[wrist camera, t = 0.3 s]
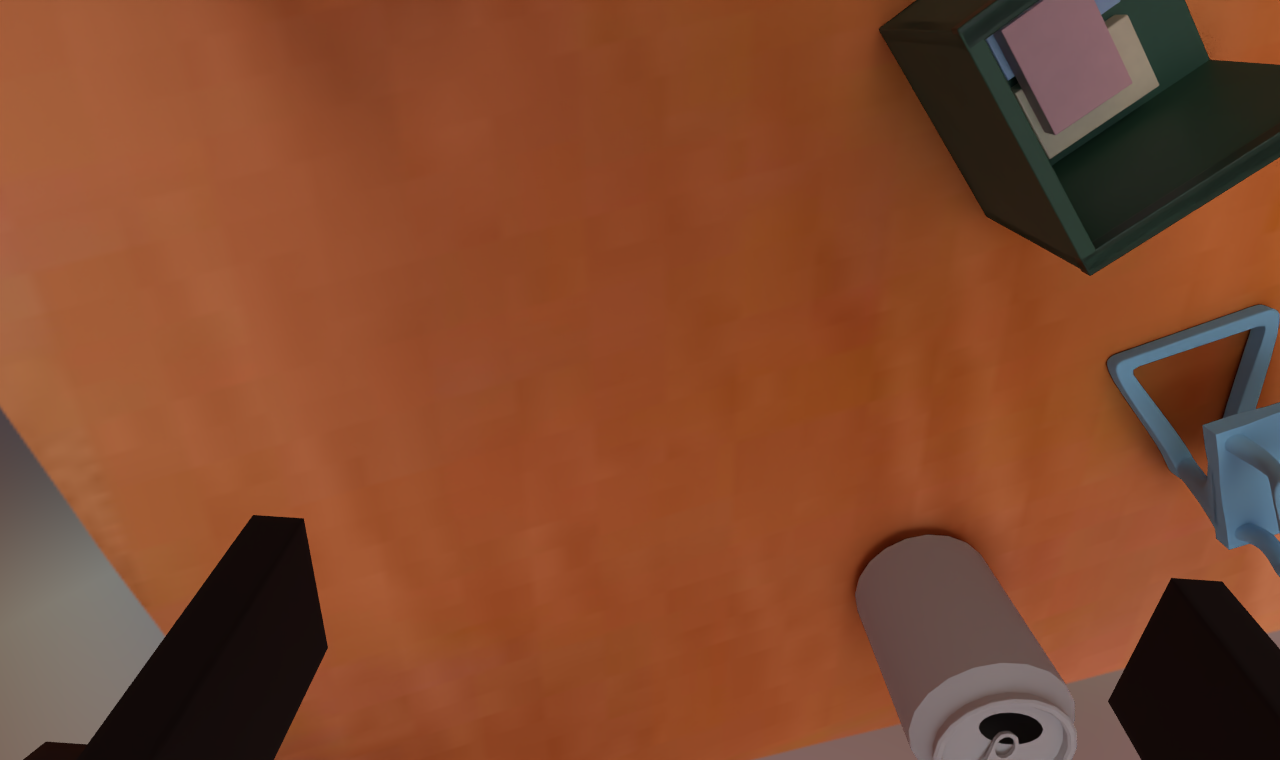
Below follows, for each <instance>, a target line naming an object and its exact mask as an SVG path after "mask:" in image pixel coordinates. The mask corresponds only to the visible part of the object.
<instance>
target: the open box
mask: <svg viewBox="0 0 1280 760" xmlns="http://www.w3.org/2000/svg"><path fill="white" fill-rule="evenodd" d="M1038 1H1039V0H916V1H915V2H913V3H912V4H911V5H909V6H908V7H907V8H906V9H904V10H903V11H902V12H900V13H899V14H898V15H896V16H895V17H894V18H892V19H891V20H890V21H888V22H887V23H886V24H884V25H883V26H882V27H880V28H879V31H880V33H881V34H882V36H883V38H884V40H885V41H886V43H887V45H888V47H889V48H890V50H891V52H892V53H893V55H894V57H895V59H896V60H897V62H898V64H899V66H900V67H901V69H902V71H903V73H904V74H905V76H906V78H907V79H908V81H909V83H910V85H911V86H912V88H913V90H914V92H915V93H916V95H917V97H918V99H919V100H920V102H921V104H922V105H923V107H924V109H925V111H926V112H927V114H928V116H929V118H930V119H931V121H932V123H933V125H934V126H935V128H936V130H937V131H938V133H939V135H940V137H941V138H942V140H943V142H944V144H945V145H946V147H947V149H948V151H949V152H950V154H951V156H952V157H953V159H954V161H955V163H956V164H957V166H958V168H959V170H960V171H961V173H962V175H963V177H964V178H965V180H966V182H967V183H968V185H969V187H970V189H971V190H972V192H973V194H974V196H975V197H976V199H977V201H978V203H979V204H980V206H981V208H982V209H983V211H984V213H985V215H986V216H987V217H988V218H990V219H992V220H994V221H996V222H997V223H999V224H1001V225H1003V226H1005V227H1006V228H1008V229H1010V230H1012V231H1013V232H1015V233H1017V234H1019V235H1021V236H1022V237H1024V238H1026V239H1028V240H1030V241H1031V242H1033V243H1035V244H1037V245H1039V246H1040V247H1042V248H1044V249H1046V250H1048V251H1049V252H1051V253H1053V254H1055V255H1057V256H1058V257H1060V258H1062V259H1064V260H1066V261H1067V262H1069V263H1071V264H1073V265H1075V266H1076V267H1078V268H1080V269H1081V271H1082V272H1084V273H1086V274H1088V275H1089V276H1091V275H1093V274H1094V273H1096V272H1097V271H1099V270H1101V269H1102V268H1104V267H1105V266H1107V265H1108V264H1110V263H1112V262H1113V261H1115V260H1116V259H1118V258H1120V257H1121V256H1123V255H1124V254H1126V253H1128V252H1129V251H1131V250H1132V249H1134V248H1136V247H1137V246H1139V245H1140V244H1142V243H1144V242H1145V241H1147V240H1148V239H1150V238H1152V237H1153V236H1155V235H1156V234H1158V233H1160V232H1161V231H1163V230H1164V229H1166V228H1168V227H1169V226H1171V225H1172V224H1174V223H1175V222H1177V221H1179V220H1180V219H1182V218H1183V217H1185V216H1187V215H1188V214H1190V213H1191V212H1193V211H1195V210H1196V209H1198V208H1199V207H1201V206H1203V205H1204V204H1206V203H1207V202H1209V201H1211V200H1212V199H1214V198H1215V197H1217V196H1219V195H1220V194H1222V193H1223V192H1225V191H1227V190H1228V189H1230V188H1231V187H1233V186H1235V185H1236V184H1238V183H1239V182H1241V181H1242V180H1244V179H1246V178H1247V177H1249V176H1250V175H1252V174H1254V173H1255V172H1257V171H1258V170H1260V169H1262V168H1263V167H1265V166H1266V165H1268V164H1270V163H1271V162H1273V161H1274V160H1276V159H1278V158H1279V157H1280V65H1274V64H1260V63H1247V62H1233V61H1219V60H1210V59H1209V57H1208V54H1207V52H1206V50H1205V47H1204V45H1203V42H1202V40H1201V38H1200V35H1199V33H1198V31H1197V28H1196V26H1195V23H1194V21H1193V19H1192V16H1191V14H1190V12H1189V9H1188V7H1187V4H1186V2H1185V0H1121V1H1120V2H1119V3H1117V4H1116V5H1114V6H1113V7H1112V8H1110V9H1109V10H1107V11H1106V12H1105V13H1103V14H1102V15H1101V16H1102V18H1103V20H1104V22H1105V21H1106V20H1108V19H1109V18H1111V17H1112V16H1113V15H1128V17H1129V19H1130V21H1131V23H1132V25H1133V28H1134V30H1135V32H1136V34H1137V36H1138V39H1139V41H1140V43H1141V45H1142V48H1143V50H1144V52H1145V54H1146V56H1147V59H1148V61H1149V63H1150V65H1151V67H1152V70H1153V72H1154V74H1155V76H1156V78H1157V81H1158V83H1159V86H1158V87H1157V88H1155V89H1154V90H1152V91H1151V92H1149V93H1148V94H1146V95H1145V96H1143V97H1142V98H1140V99H1139V100H1137V101H1136V102H1134V103H1133V104H1131V105H1130V106H1128V107H1127V108H1125V109H1124V110H1122V111H1121V112H1120V113H1118V114H1117V115H1115V116H1114V117H1112V118H1111V119H1109V120H1108V121H1106V122H1105V123H1103V124H1102V125H1100V126H1099V127H1097V128H1096V129H1094V130H1093V131H1091V132H1090V133H1088V134H1087V135H1085V136H1084V137H1082V138H1081V139H1079V140H1078V141H1076V142H1075V143H1073V144H1072V145H1071V146H1069V147H1068V148H1066V149H1065V150H1063V151H1062V152H1060V153H1059V154H1057V155H1056V156H1054V157H1053V158H1051V159H1048V158H1047V156H1046V154H1045V152H1044V150H1043V149H1042V147H1041V145H1040V143H1039V141H1038V139H1037V137H1036V135H1035V133H1034V131H1033V130H1032V128H1031V126H1030V124H1029V122H1028V120H1027V118H1026V116H1025V114H1024V113H1023V111H1022V109H1021V107H1020V105H1019V103H1018V101H1017V99H1016V97H1015V95H1014V94H1013V92H1012V90H1011V87H1013V86H1014V85H1016V84H1017V83H1018V81H1017V79H1016V77H1015V76H1014V77H1013V78H1012V79H1010V80H1008V81H1007V80H1006V78H1005V77H1004V75H1003V73H1002V71H1001V69H1000V67H999V65H998V63H997V61H996V60H995V58H994V56H993V54H992V52H991V50H990V48H989V46H988V44H987V42H986V41H985V40H986V39H987V38H988V37H990V36H991V35H993V34H994V33H995V32H997V31H998V30H999V29H1001V28H1002V27H1003V26H1005V25H1006V24H1008V23H1009V22H1010V21H1012V20H1013V19H1014V18H1016V17H1017V16H1019V15H1020V14H1021V13H1023V12H1024V11H1025V10H1027V9H1028V8H1030V7H1031V6H1032V5H1034V4H1035V3H1036V2H1038Z"/></svg>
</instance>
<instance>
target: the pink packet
mask: <svg viewBox="0 0 1280 760" xmlns="http://www.w3.org/2000/svg"><path fill="white" fill-rule="evenodd" d="M993 35H994V37H995V39H996V41H997V42H998V44H999V46H1000V48H1001V50H1002V52H1003V54H1004V56H1005V58H1006V60H1007V62H1008V64H1009V65H1010V67H1011V69H1012V71H1013V73H1014V75H1015V77H1016V79H1017V81H1018V83H1019V85H1020V86H1021V88H1022V90H1023V92H1024V94H1025V96H1026V98H1027V100H1028V102H1029V104H1030V106H1031V108H1032V109H1033V111H1034V113H1035V115H1036V117H1037V119H1038V121H1039V123H1040V125H1041V127H1042V129H1043V130H1044V132H1045V133H1049V134H1052V135H1057V134H1059V133H1060V132H1062V131H1063V130H1064V129H1066V128H1067V127H1069V126H1070V125H1072V124H1073V123H1075V122H1076V121H1078V120H1079V119H1081V118H1082V117H1084V116H1085V115H1087V114H1088V113H1089V112H1091V111H1092V110H1094V109H1095V108H1097V107H1098V106H1100V105H1101V104H1103V103H1104V102H1106V101H1107V100H1109V99H1110V98H1112V97H1113V96H1114V95H1116V94H1117V93H1119V92H1120V91H1122V90H1123V89H1125V88H1126V87H1128V86H1129V85H1131V84H1132V80H1131V78H1130V76H1129V74H1128V71H1127V69H1126V67H1125V65H1124V63H1123V61H1122V59H1121V56H1120V54H1119V52H1118V50H1117V48H1116V46H1115V43H1114V41H1113V39H1112V37H1111V35H1110V33H1109V31H1108V28H1107V26H1106V24H1105V22H1104V20H1103V18H1102V16H1101V13H1100V11H1099V9H1098V7H1097V5H1096V3H1095V1H1094V0H1039V1H1038V2H1036V3H1035V4H1034V5H1032V6H1031V7H1030V8H1028V9H1027V10H1025V11H1024V12H1023V13H1021V14H1020V15H1019V16H1017V17H1016V18H1014V19H1013V20H1012V21H1010V22H1009V23H1008V24H1006V25H1005V26H1003V27H1002V28H1001V29H999V30H998V31H997V32H995V33H994V34H993Z"/></svg>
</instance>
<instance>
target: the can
mask: <svg viewBox="0 0 1280 760" xmlns="http://www.w3.org/2000/svg"><path fill="white" fill-rule="evenodd" d="M855 597H856V603H857V610H858V613H859V615H860V618H861V621H862V623H863V626H864V628H865V631H866V634H867V636H868V639H869V641H870V644H871V647H872V649H873V652H874V654H875V657H876V659H877V662H878V665H879V667H880V670H881V672H882V675H883V678H884V680H885V683H886V685H887V688H888V691H889V693H890V696H891V698H892V701H893V704H894V706H895V709H896V711H897V714H898V717H899V719H900V722H901V724H902V727H903V730H904V732H905V735H906V737H907V740H908V742H909V745H910V748H911V750H912V751H913V753H914V754H915V756H916V757H917V759H918V760H1072V758H1073V756H1074V753H1075V751H1076V749H1077V731H1076V729H1075V727H1074V725H1073V723H1074V721H1075V703H1074V699H1073V697H1072V696H1071V694H1070V692H1069V690H1068V688H1067V686H1066V684H1065V682H1064V681H1063V679H1062V678H1061V676H1060V675H1059V673H1058V672H1057V670H1056V669H1055V667H1054V666H1053V664H1052V663H1051V661H1050V660H1049V658H1048V657H1047V655H1046V653H1045V652H1044V650H1043V649H1042V647H1041V646H1040V644H1039V643H1038V641H1037V640H1036V638H1035V637H1034V635H1033V634H1032V632H1031V631H1030V629H1029V628H1028V626H1027V624H1026V623H1025V621H1024V620H1023V618H1022V617H1021V615H1020V614H1019V612H1018V611H1017V609H1016V608H1015V606H1014V605H1013V603H1012V602H1011V600H1010V598H1009V597H1008V595H1007V594H1006V592H1005V591H1004V589H1003V588H1002V586H1001V585H1000V583H999V582H998V580H997V579H996V577H995V576H994V574H993V573H992V571H991V569H990V568H989V566H988V565H987V563H986V562H985V560H984V559H983V557H982V556H981V554H980V553H978V552H977V551H976V550H975V549H974V548H972V547H971V546H970V545H969V544H968V543H966V542H963V541H961V540H958V539H955V538H952V537H950V536H940V535H923V536H918V537H913V538H908V539H904V540H902V541H900V542H898V543H896V544H894V545H892V546H889V547H887V548H885V549H884V550H883V551H882V552H881V553H879V554H878V555H877V556H876V557H875V558H873V559H872V560H871V561H870V562H869V564H868V565H867V567H866V568H865V570H864V571H863V573H862V574H861V576H860V577H859V581H858V585H857V589H856V593H855Z"/></svg>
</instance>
